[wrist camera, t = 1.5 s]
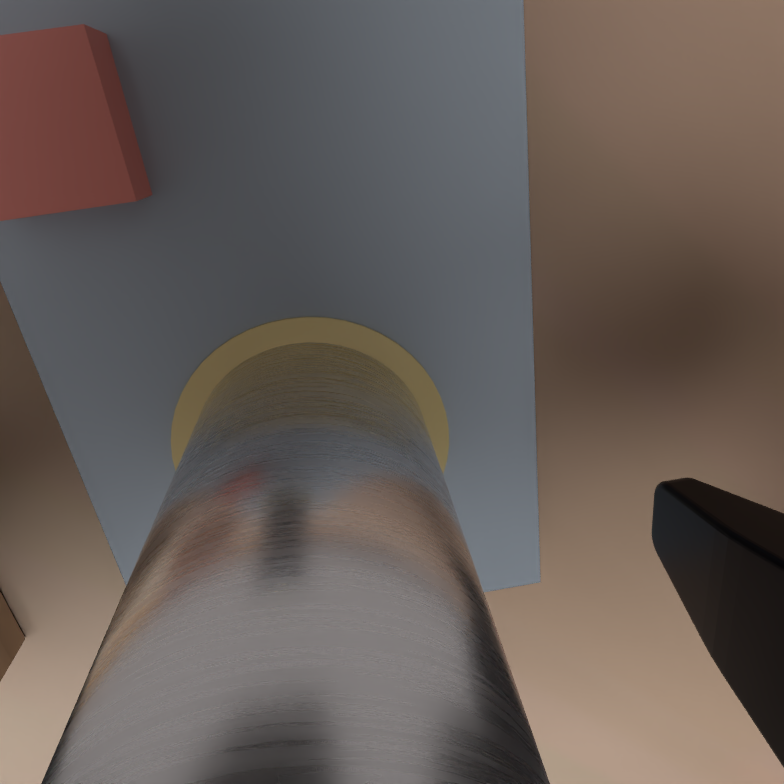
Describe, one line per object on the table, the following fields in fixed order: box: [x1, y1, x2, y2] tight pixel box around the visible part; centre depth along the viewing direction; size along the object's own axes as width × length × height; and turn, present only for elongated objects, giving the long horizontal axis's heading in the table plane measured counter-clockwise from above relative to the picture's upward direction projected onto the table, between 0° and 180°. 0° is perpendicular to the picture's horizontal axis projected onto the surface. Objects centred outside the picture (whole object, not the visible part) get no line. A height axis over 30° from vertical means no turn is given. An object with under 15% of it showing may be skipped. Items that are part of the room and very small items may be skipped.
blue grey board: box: [0, 0, 540, 592], centre depth 8 cm, size 8×18×2 cm, turn 7°
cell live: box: [41, 342, 550, 784], centre depth 7 cm, size 4×4×8 cm
